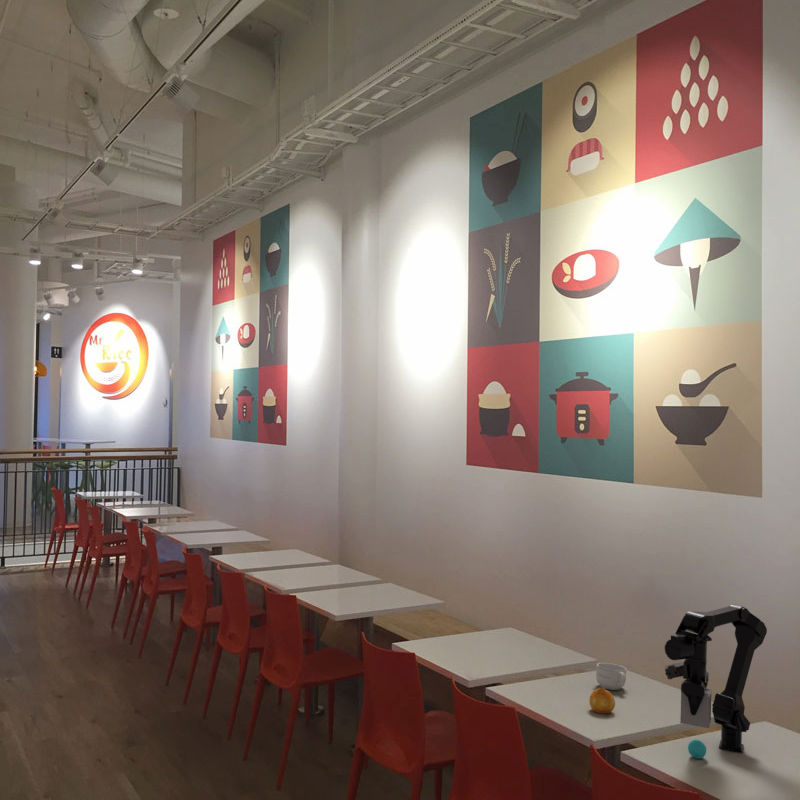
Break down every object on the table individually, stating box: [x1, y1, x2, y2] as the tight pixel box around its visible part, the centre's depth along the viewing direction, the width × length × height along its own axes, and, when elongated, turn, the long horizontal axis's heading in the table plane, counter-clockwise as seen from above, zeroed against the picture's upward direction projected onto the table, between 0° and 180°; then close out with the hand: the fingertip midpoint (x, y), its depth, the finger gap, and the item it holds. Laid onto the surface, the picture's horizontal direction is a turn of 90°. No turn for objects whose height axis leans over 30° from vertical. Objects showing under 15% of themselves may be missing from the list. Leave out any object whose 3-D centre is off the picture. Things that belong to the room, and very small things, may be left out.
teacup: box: [595, 662, 628, 691], centre depth 290 cm, size 14×11×8 cm
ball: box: [687, 739, 707, 759], centre depth 229 cm, size 5×5×5 cm
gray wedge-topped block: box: [679, 688, 712, 729], centre depth 230 cm, size 8×8×9 cm
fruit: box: [588, 687, 616, 714], centre depth 266 cm, size 8×8×8 cm
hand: (694, 711), depth 230 cm, fingers closed on gray wedge-topped block, 8 cm apart
